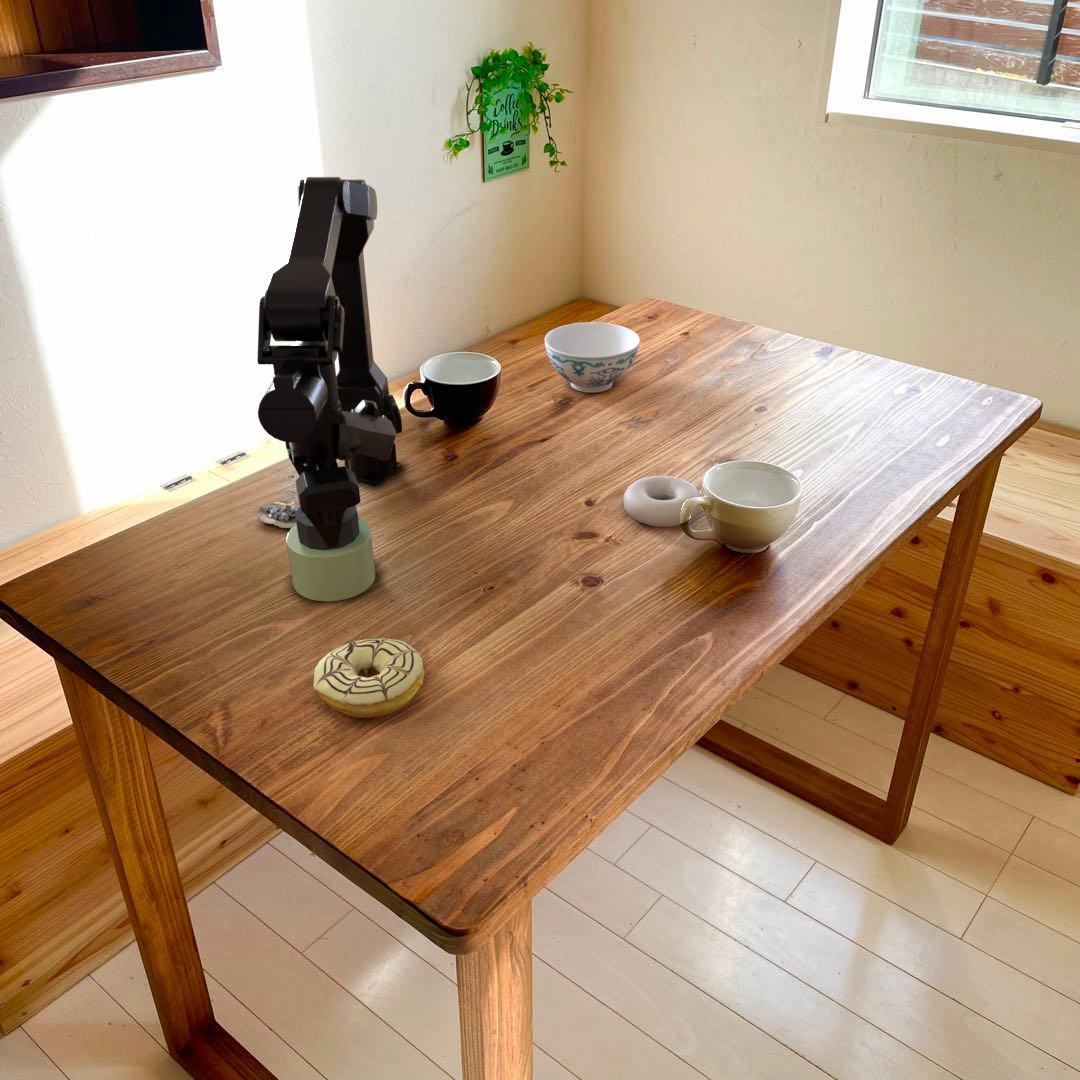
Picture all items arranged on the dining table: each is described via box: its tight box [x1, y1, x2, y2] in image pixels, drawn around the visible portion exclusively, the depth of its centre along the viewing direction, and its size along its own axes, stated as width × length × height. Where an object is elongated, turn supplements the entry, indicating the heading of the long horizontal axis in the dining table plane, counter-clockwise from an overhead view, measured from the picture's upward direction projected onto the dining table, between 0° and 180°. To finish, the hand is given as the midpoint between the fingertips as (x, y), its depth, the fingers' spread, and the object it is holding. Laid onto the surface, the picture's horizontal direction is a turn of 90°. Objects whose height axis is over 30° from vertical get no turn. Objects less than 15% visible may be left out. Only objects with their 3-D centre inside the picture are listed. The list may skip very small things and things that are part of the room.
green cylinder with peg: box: [285, 517, 376, 602], centre depth 127 cm, size 10×10×9 cm
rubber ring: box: [295, 505, 360, 550], centre depth 126 cm, size 7×7×3 cm
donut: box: [622, 475, 702, 528], centre depth 141 cm, size 10×4×10 cm
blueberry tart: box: [256, 500, 300, 530], centre depth 141 cm, size 7×8×2 cm
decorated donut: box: [313, 637, 425, 719], centre depth 111 cm, size 10×11×4 cm
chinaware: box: [543, 321, 641, 393], centre depth 175 cm, size 15×15×8 cm
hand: (327, 526), depth 126 cm, fingers open, 9 cm apart
